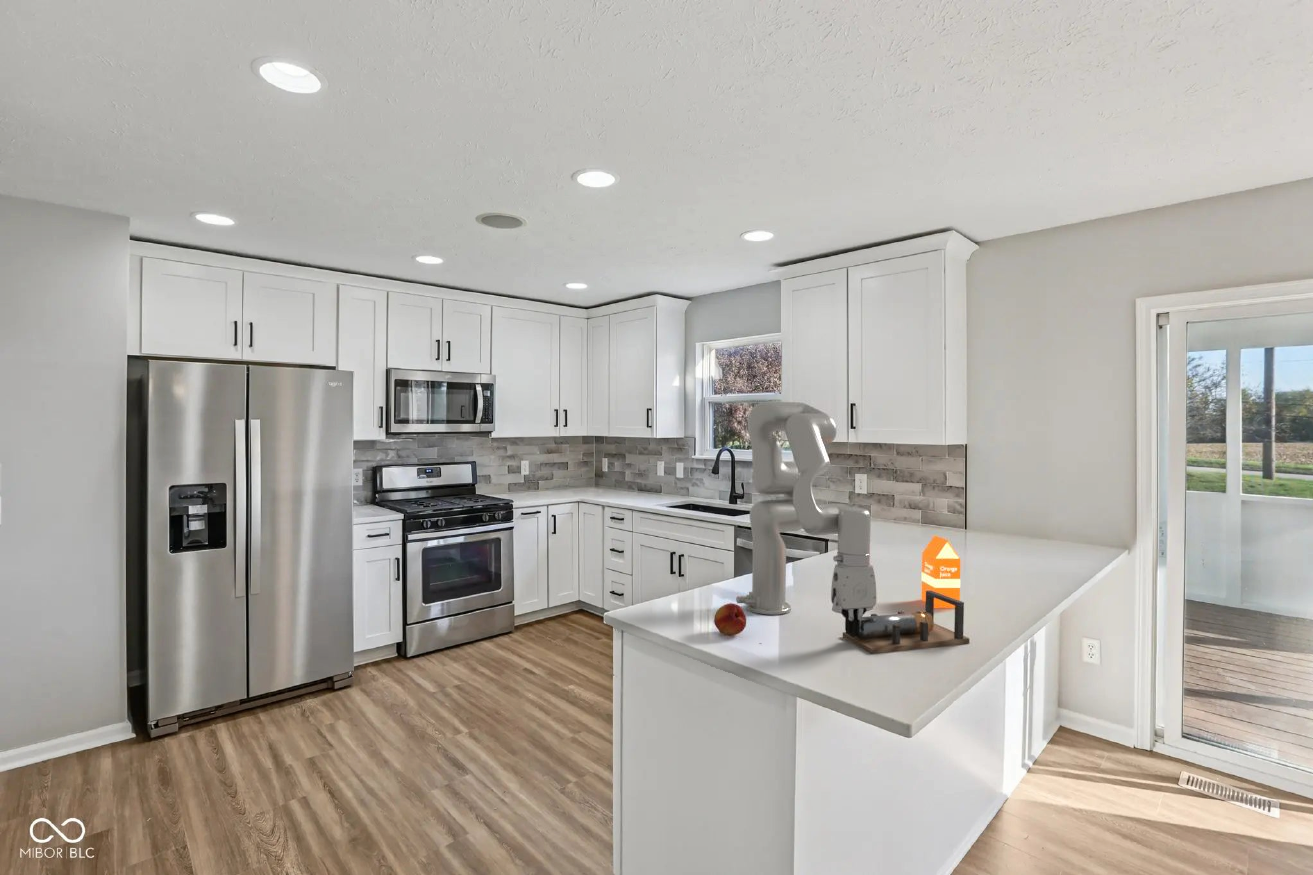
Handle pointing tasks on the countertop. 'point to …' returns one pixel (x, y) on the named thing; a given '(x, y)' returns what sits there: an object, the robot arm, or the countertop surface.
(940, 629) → the board
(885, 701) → the countertop surface
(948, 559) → the orange juice
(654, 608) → the countertop surface
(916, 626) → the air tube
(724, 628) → the fruit
